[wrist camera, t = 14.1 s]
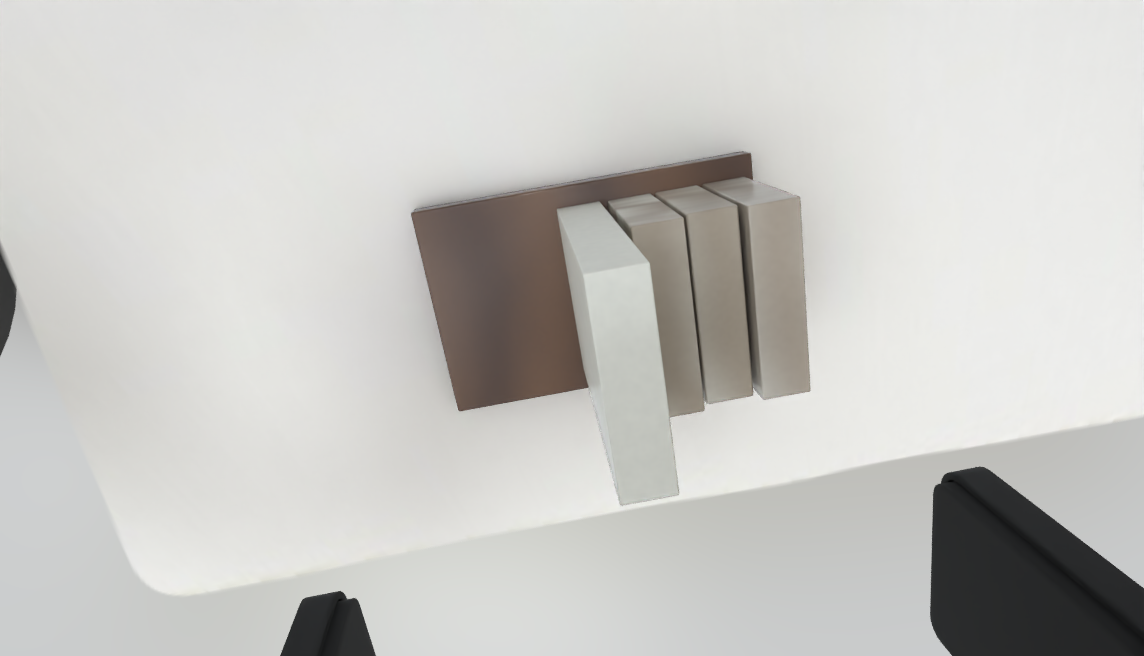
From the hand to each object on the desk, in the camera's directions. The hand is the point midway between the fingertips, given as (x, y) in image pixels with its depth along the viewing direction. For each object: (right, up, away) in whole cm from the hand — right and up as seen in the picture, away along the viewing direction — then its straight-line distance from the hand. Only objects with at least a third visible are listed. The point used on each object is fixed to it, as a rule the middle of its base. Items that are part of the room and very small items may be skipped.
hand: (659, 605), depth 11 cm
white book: (0, +6, +22) cm, 23 cm away
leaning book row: (0, +7, +23) cm, 24 cm away
